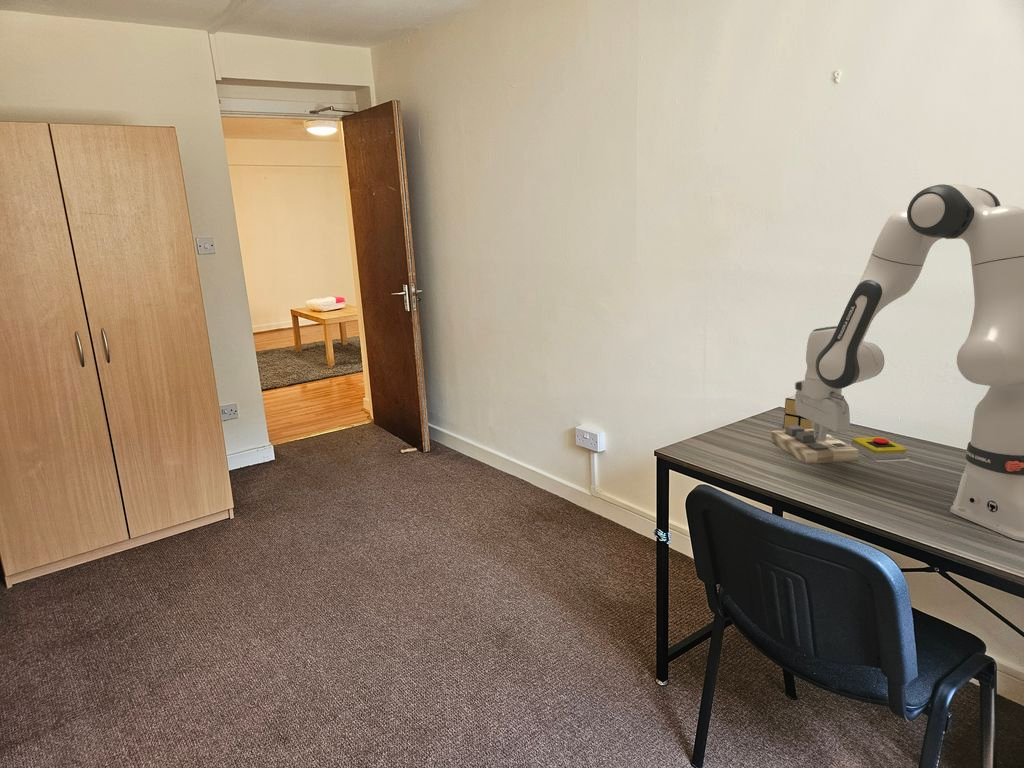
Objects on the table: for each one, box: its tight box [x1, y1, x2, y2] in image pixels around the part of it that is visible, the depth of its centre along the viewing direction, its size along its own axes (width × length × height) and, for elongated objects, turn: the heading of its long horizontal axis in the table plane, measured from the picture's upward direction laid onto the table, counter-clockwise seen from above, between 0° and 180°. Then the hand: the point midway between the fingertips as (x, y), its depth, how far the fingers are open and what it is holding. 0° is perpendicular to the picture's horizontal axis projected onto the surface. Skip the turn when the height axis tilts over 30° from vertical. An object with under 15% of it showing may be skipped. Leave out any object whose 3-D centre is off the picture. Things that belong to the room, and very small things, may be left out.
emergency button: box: [848, 436, 910, 463], centre depth 180 cm, size 9×4×15 cm
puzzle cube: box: [783, 395, 813, 430], centre depth 202 cm, size 10×10×10 cm
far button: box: [785, 425, 804, 437], centre depth 189 cm, size 4×4×3 cm
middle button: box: [796, 431, 816, 443], centre depth 183 cm, size 4×4×3 cm
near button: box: [807, 443, 828, 450], centre depth 177 cm, size 4×4×3 cm
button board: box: [770, 429, 860, 465], centre depth 183 cm, size 20×14×3 cm
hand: (819, 439), depth 176 cm, fingers closed
